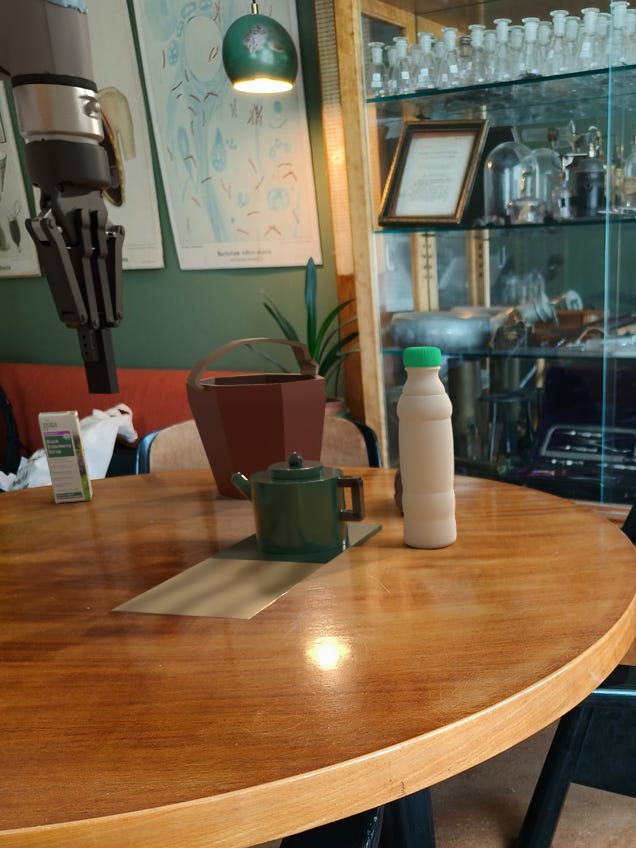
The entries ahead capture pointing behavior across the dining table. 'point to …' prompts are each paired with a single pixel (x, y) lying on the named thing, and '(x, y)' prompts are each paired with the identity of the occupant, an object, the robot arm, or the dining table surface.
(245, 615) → the board
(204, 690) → the dining table surface
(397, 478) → the perforated stone tool
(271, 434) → the bucket
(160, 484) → the dining table surface
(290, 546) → the kettle
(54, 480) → the syrup box
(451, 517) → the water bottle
